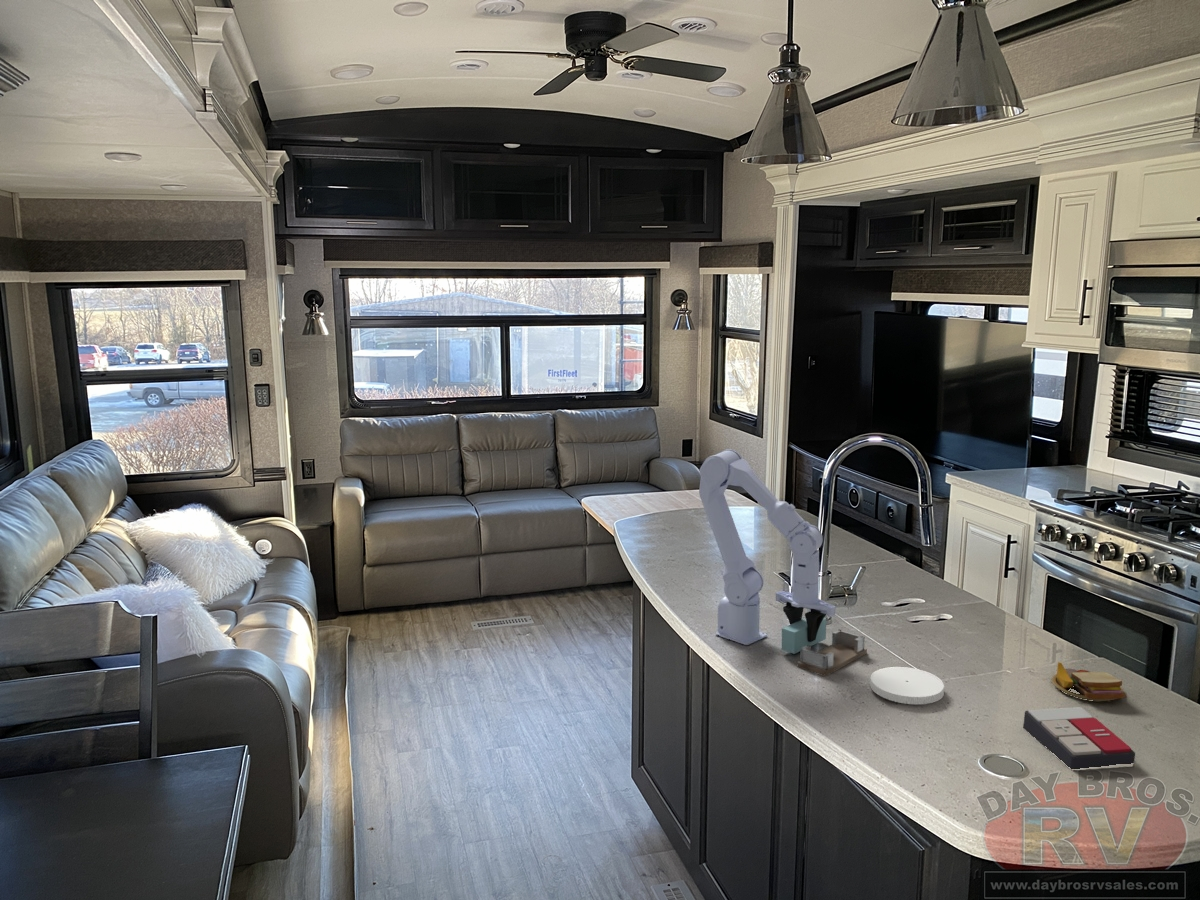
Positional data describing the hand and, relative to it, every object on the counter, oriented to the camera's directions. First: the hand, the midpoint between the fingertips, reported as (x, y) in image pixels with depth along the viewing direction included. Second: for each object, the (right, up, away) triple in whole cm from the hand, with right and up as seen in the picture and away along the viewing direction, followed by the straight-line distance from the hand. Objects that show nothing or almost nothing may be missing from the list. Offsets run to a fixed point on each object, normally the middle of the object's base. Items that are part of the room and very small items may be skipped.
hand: (804, 638), depth 199 cm
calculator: (+38, -10, -44) cm, 59 cm away
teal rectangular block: (0, -1, 0) cm, 1 cm away
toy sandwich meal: (+52, -6, -23) cm, 57 cm away
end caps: (+5, -3, -6) cm, 9 cm away
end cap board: (+5, -3, -6) cm, 9 cm away
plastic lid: (+16, -7, -22) cm, 28 cm away
